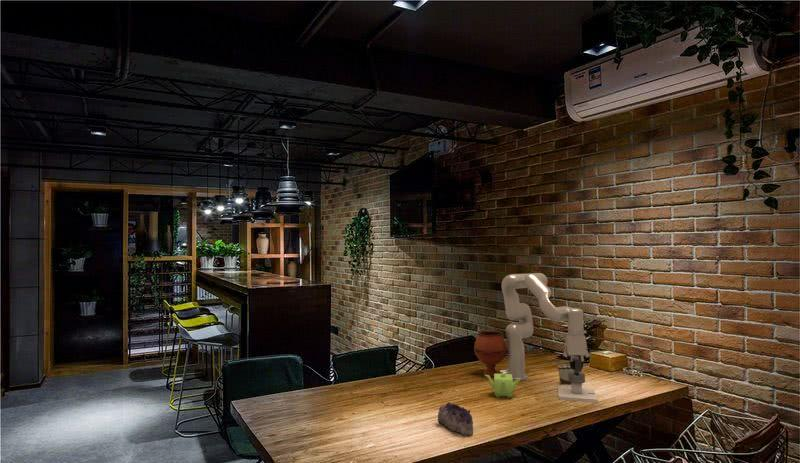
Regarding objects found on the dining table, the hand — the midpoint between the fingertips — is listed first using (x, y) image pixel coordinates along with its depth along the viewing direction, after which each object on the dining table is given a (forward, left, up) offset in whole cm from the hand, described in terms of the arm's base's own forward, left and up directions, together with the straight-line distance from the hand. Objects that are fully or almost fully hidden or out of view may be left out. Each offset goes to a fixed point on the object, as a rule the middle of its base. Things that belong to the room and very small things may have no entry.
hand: (576, 368), depth 236 cm
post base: (0, 0, -14) cm, 14 cm away
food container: (+2, +21, -14) cm, 25 cm away
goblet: (-38, +38, -14) cm, 56 cm away
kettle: (-38, -1, -14) cm, 40 cm away
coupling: (0, +1, -6) cm, 6 cm away
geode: (-64, -43, -14) cm, 79 cm away
